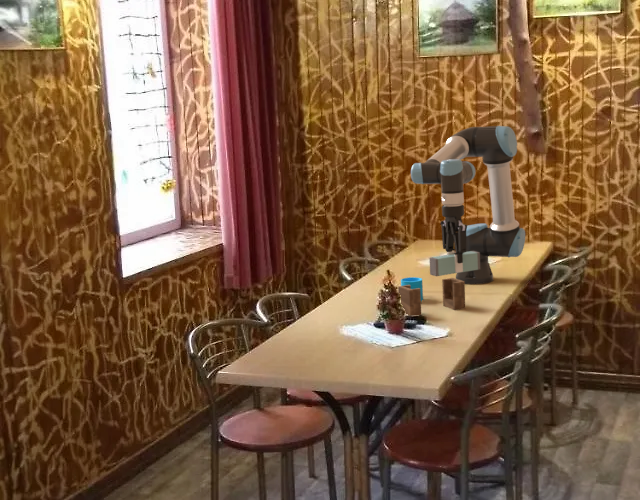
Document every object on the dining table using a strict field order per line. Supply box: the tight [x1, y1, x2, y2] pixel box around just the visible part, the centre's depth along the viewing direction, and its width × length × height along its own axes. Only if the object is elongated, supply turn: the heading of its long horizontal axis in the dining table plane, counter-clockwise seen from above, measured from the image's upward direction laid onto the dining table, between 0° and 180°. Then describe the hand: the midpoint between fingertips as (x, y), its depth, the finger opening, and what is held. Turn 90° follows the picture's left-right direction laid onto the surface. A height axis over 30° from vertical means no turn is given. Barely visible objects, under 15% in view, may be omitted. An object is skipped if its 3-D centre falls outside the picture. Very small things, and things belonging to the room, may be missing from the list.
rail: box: [429, 251, 480, 277], centre depth 326 cm, size 18×4×6 cm, turn 114°
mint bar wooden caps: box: [397, 277, 466, 316], centre depth 340 cm, size 23×8×10 cm, turn 114°
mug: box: [400, 276, 424, 302], centre depth 359 cm, size 12×8×8 cm
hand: (455, 270), depth 327 cm, fingers closed on rail, 4 cm apart
